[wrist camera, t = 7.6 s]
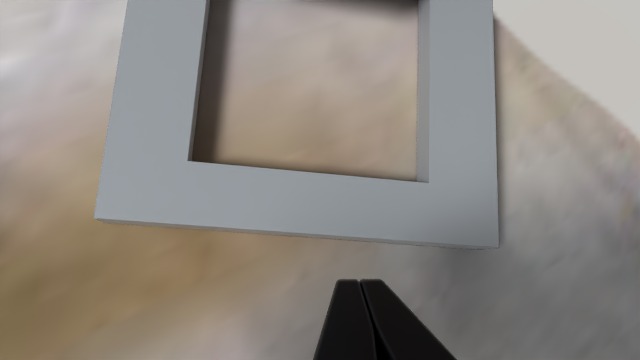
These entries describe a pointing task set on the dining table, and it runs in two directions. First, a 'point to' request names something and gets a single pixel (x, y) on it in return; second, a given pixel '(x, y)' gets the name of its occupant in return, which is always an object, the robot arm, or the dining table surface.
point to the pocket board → (296, 186)
